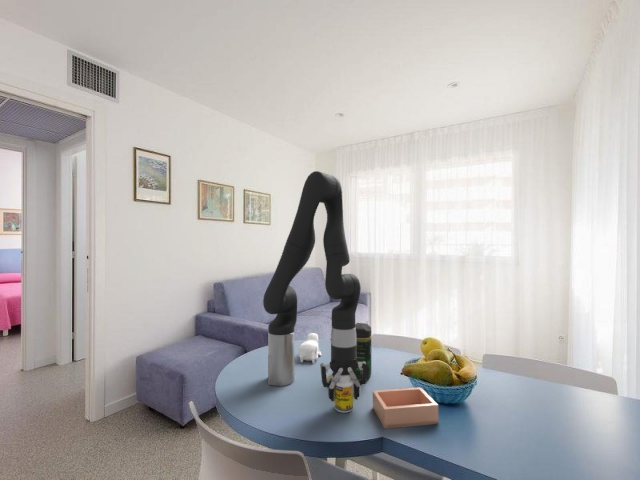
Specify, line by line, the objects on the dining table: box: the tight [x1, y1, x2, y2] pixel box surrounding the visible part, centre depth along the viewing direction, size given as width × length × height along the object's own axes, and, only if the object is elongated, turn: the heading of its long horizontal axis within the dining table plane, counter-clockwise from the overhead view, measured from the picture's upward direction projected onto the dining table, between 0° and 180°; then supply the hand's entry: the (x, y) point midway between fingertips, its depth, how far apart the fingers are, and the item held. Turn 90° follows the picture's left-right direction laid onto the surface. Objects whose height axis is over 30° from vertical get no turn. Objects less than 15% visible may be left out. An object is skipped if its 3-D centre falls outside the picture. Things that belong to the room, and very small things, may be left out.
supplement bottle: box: [333, 375, 354, 414], centre depth 88 cm, size 6×6×10 cm
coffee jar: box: [354, 322, 373, 380], centre depth 111 cm, size 10×8×19 cm
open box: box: [372, 387, 439, 429], centre depth 84 cm, size 15×10×5 cm, turn 98°
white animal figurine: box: [298, 332, 323, 364], centre depth 129 cm, size 9×8×15 cm
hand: (344, 399), depth 88 cm, fingers open, 6 cm apart
